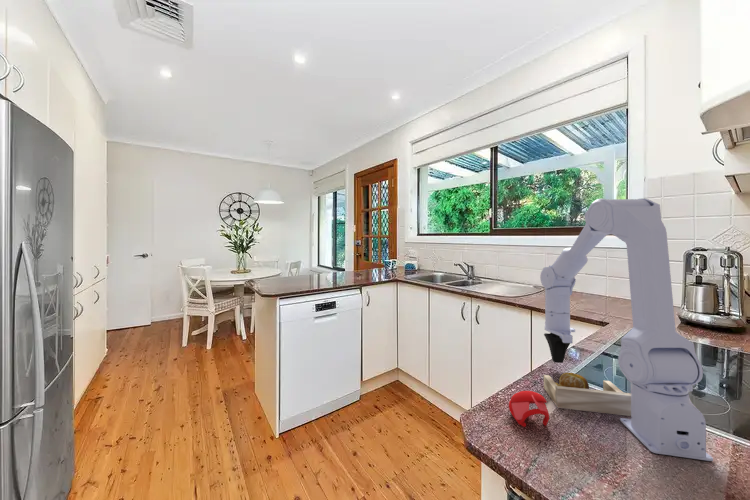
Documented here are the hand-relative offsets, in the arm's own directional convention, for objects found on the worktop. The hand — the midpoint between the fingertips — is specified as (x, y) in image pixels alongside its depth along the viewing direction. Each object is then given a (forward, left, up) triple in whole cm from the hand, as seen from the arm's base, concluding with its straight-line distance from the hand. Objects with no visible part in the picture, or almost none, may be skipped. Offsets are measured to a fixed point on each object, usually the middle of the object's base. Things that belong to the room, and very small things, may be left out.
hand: (557, 361), depth 79 cm
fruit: (-12, +2, -3) cm, 12 cm away
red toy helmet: (-28, +14, -3) cm, 31 cm away
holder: (-16, 0, -2) cm, 16 cm away
